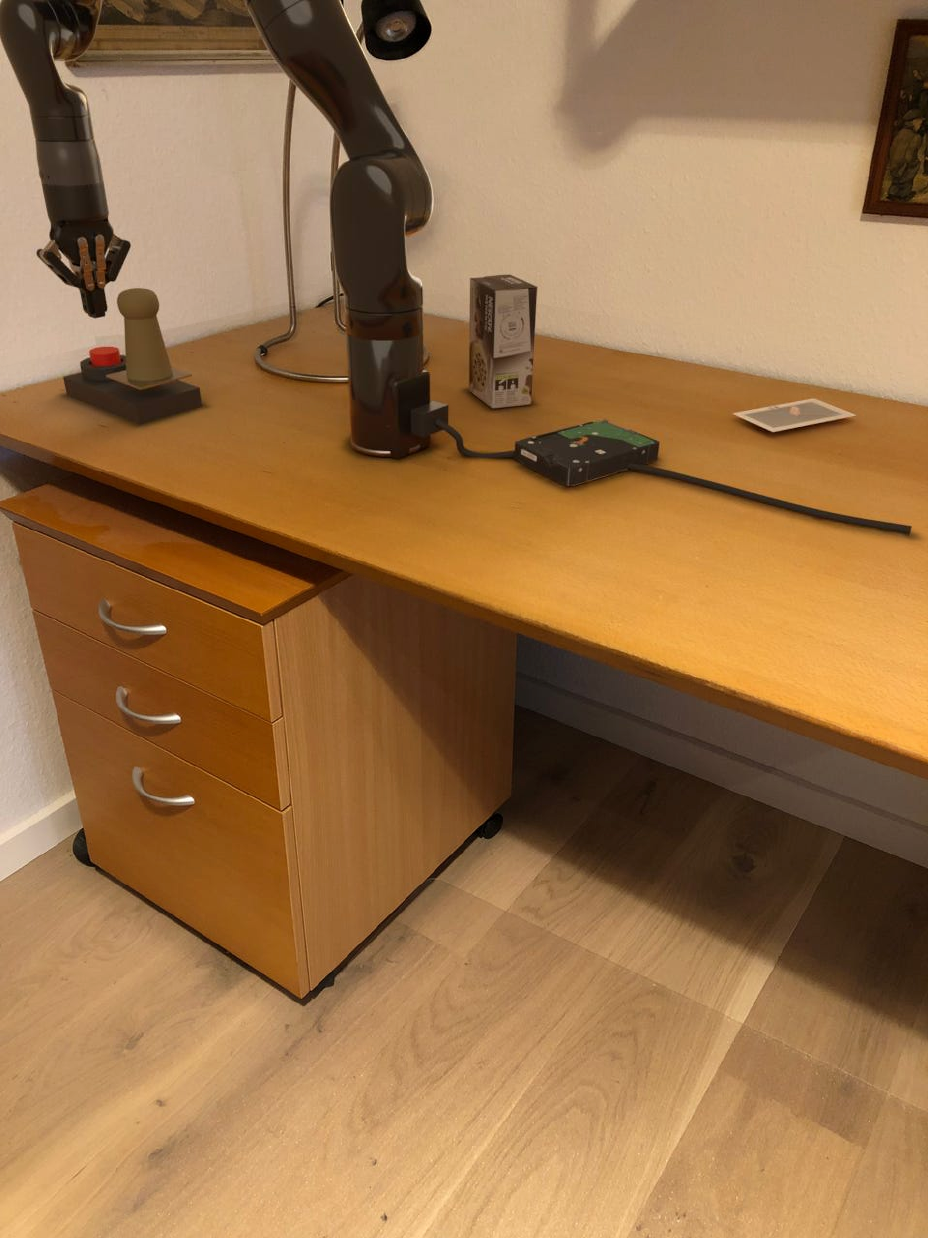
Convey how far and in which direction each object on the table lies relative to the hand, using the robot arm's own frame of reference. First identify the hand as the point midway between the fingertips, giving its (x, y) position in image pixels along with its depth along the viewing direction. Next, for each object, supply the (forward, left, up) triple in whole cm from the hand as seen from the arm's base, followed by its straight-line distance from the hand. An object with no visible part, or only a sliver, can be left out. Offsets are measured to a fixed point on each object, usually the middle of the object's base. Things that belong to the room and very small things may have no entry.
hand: (97, 316), depth 130 cm
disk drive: (-66, -24, -11) cm, 71 cm away
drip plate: (-11, 0, -6) cm, 12 cm away
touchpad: (-79, -55, -11) cm, 97 cm away
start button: (0, 0, -7) cm, 7 cm away
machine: (-6, 0, -11) cm, 12 cm away
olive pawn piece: (-11, 0, -6) cm, 12 cm away
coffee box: (-43, -36, -11) cm, 57 cm away
